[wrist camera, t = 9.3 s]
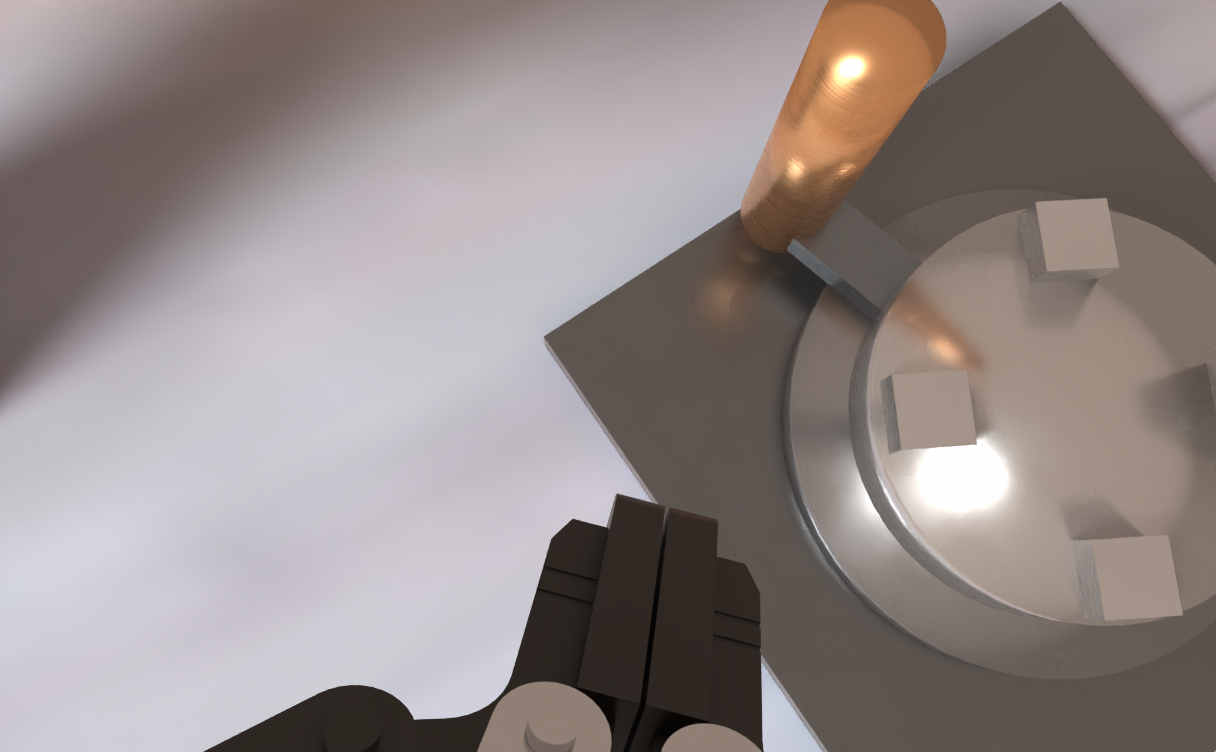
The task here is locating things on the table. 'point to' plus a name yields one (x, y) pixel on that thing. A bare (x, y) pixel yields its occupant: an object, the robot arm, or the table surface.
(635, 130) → the table surface
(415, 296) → the table surface
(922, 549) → the grey disc with handle
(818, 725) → the base plate
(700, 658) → the robot arm
